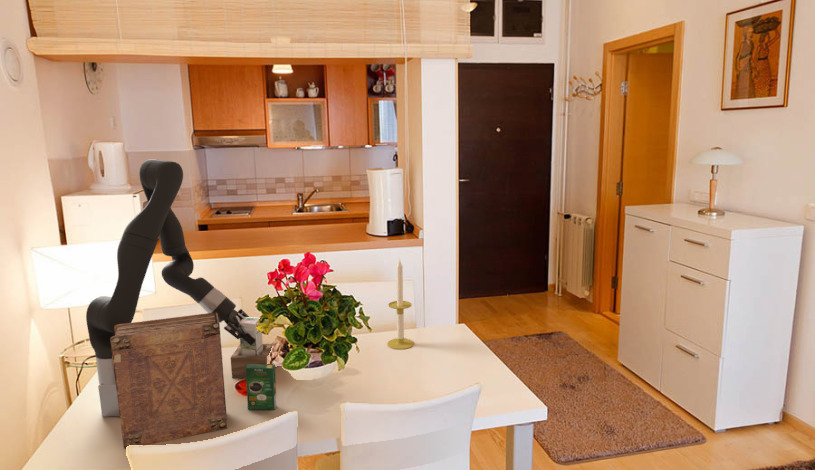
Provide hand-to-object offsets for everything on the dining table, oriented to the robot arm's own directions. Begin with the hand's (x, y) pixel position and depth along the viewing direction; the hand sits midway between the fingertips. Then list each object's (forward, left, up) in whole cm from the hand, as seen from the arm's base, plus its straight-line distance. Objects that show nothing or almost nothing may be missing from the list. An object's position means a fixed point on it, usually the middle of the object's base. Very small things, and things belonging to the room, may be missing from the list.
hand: (256, 338), depth 181 cm
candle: (+20, -47, -11) cm, 53 cm away
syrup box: (0, +2, -8) cm, 8 cm away
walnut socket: (0, +2, -11) cm, 11 cm away
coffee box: (-25, -7, -11) cm, 28 cm away
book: (-36, +13, -11) cm, 40 cm away
